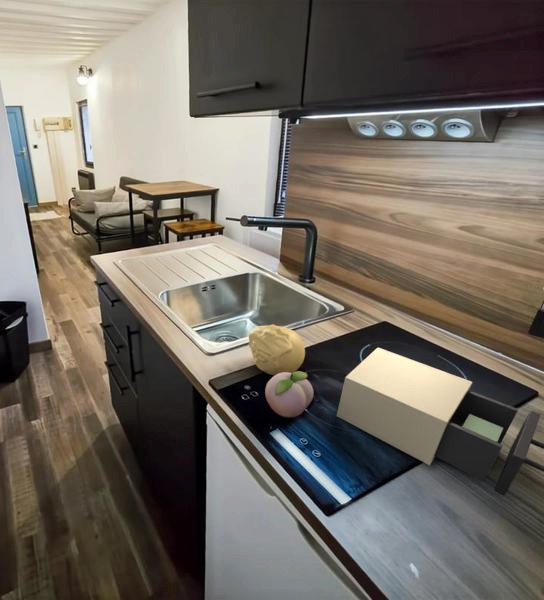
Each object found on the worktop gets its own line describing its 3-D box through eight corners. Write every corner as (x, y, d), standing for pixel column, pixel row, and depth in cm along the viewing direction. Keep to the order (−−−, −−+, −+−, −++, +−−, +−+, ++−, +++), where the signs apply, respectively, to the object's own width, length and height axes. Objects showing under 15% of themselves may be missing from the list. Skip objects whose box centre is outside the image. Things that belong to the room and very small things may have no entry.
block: (493, 447, 61) (503, 427, 59) (487, 461, 59) (497, 442, 57) (461, 432, 64) (469, 413, 62) (453, 445, 62) (462, 426, 60)
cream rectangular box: (455, 422, 69) (472, 381, 65) (429, 465, 61) (447, 422, 57) (367, 383, 80) (377, 347, 76) (336, 416, 72) (345, 377, 68)
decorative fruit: (277, 392, 79) (282, 354, 75) (315, 411, 74) (322, 371, 69) (254, 415, 74) (258, 375, 69) (292, 437, 68) (299, 395, 64)
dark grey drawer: (566, 468, 58) (589, 432, 55) (553, 522, 51) (579, 484, 48) (421, 405, 72) (433, 373, 69) (395, 440, 65) (406, 407, 62)
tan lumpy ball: (239, 360, 90) (242, 323, 86) (279, 349, 94) (283, 312, 89) (269, 388, 81) (274, 347, 76) (312, 373, 84) (319, 334, 80)
